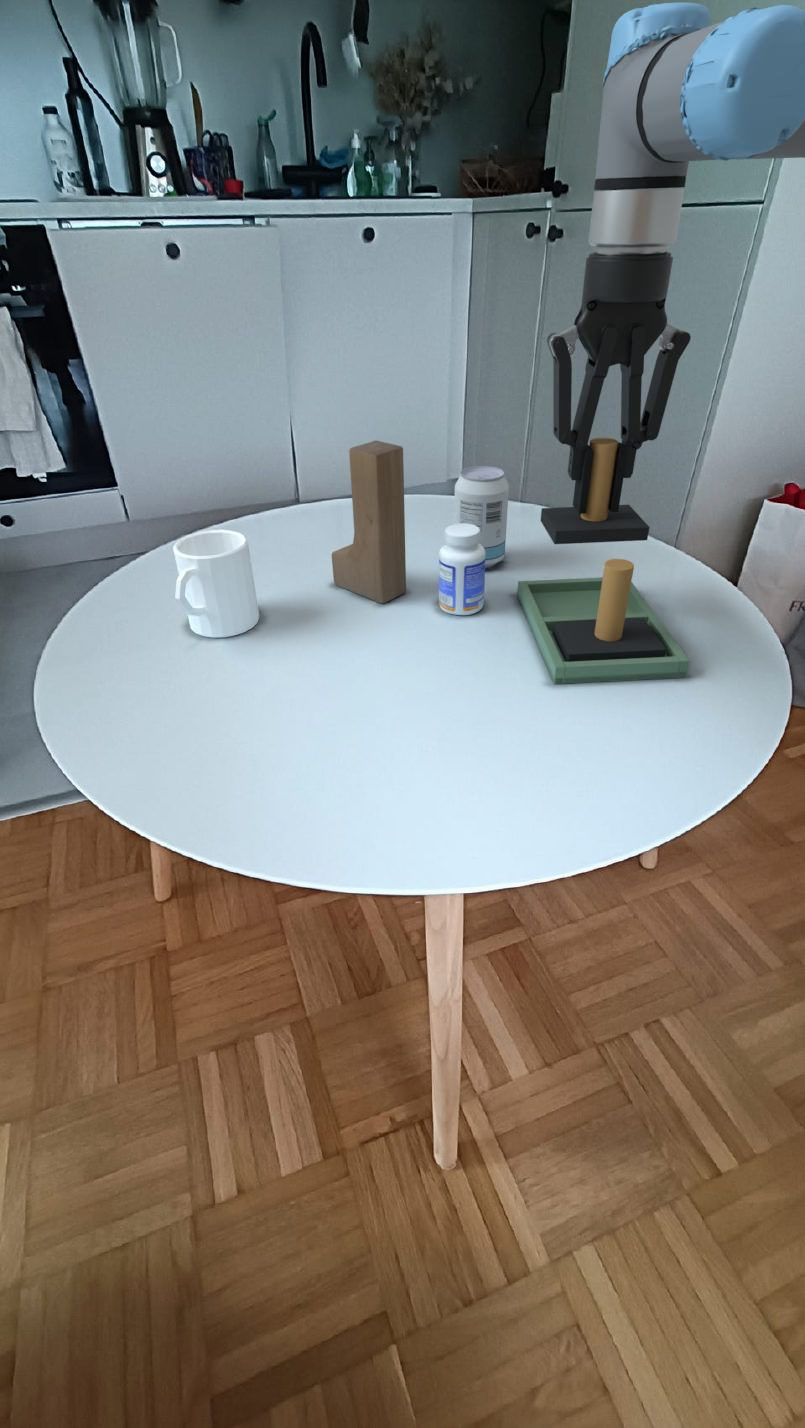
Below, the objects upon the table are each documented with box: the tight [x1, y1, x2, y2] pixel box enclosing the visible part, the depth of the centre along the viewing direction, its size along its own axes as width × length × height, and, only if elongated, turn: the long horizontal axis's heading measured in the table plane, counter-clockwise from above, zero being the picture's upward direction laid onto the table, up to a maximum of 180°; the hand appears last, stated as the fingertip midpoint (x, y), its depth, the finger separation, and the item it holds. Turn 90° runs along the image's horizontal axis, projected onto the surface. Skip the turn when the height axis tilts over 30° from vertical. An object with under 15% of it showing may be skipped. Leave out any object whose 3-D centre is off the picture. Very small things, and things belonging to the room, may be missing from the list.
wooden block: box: [331, 440, 407, 604], centre depth 86 cm, size 9×4×18 cm, turn 47°
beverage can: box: [453, 465, 510, 569], centre depth 94 cm, size 7×7×12 cm
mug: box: [172, 529, 260, 639], centre depth 81 cm, size 8×12×10 cm
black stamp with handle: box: [552, 558, 666, 662], centre depth 74 cm, size 7×10×10 cm
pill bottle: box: [438, 523, 486, 616], centre depth 84 cm, size 5×5×10 cm
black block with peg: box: [540, 437, 650, 545], centre depth 76 cm, size 7×10×10 cm
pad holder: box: [516, 576, 691, 685], centre depth 80 cm, size 20×14×2 cm
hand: (595, 508), depth 77 cm, fingers closed on black block with peg, 3 cm apart
